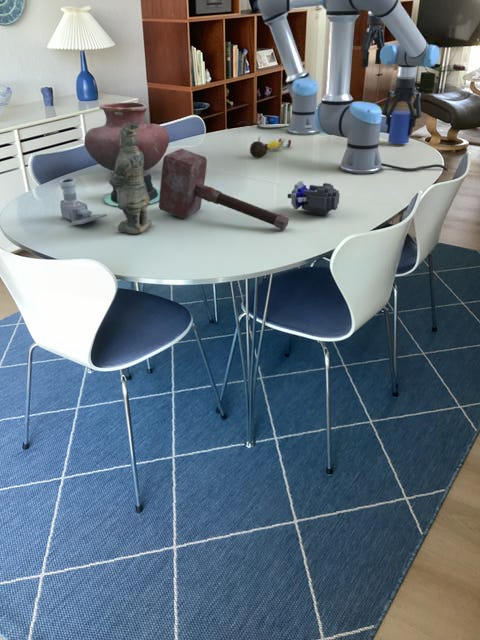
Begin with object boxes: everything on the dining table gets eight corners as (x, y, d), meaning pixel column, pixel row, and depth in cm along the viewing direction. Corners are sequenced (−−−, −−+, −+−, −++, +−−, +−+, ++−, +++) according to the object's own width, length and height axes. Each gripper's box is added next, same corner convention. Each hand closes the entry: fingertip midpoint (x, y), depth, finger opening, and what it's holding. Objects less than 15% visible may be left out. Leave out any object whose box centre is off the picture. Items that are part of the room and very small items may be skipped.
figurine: (298, 136, 240) (268, 140, 221) (297, 154, 243) (267, 160, 224) (272, 133, 246) (241, 137, 227) (271, 151, 249) (240, 156, 230)
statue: (131, 220, 168) (117, 116, 152) (158, 224, 164) (147, 118, 149) (109, 233, 159) (93, 124, 144) (138, 237, 156) (124, 126, 140)
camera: (73, 174, 169) (102, 184, 161) (79, 211, 176) (108, 223, 167) (48, 181, 164) (77, 191, 155) (55, 219, 170) (83, 231, 161)
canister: (390, 138, 249) (393, 110, 243) (410, 140, 245) (414, 111, 239) (386, 142, 242) (389, 113, 236) (406, 144, 239) (410, 114, 233)
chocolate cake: (91, 202, 180) (113, 186, 197) (142, 231, 182) (160, 212, 199) (107, 162, 172) (129, 148, 190) (160, 192, 174) (177, 176, 192)
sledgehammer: (299, 190, 156) (179, 147, 167) (285, 200, 148) (161, 154, 160) (286, 244, 166) (174, 200, 177) (272, 256, 158) (156, 209, 170)
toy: (295, 178, 172) (342, 184, 166) (295, 205, 177) (340, 211, 171) (285, 186, 166) (333, 192, 160) (284, 213, 170) (331, 220, 164)
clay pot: (179, 163, 223) (174, 97, 211) (157, 185, 198) (150, 112, 185) (108, 161, 228) (99, 97, 216) (77, 183, 203) (65, 111, 190)
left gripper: (371, 16, 246) (366, 68, 257) (395, 14, 263) (389, 63, 274) (356, 16, 250) (352, 67, 261) (380, 14, 267) (376, 62, 278)
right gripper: (434, 77, 228) (426, 134, 240) (384, 75, 238) (378, 129, 250) (429, 80, 223) (421, 137, 234) (378, 77, 233) (372, 132, 244)
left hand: (371, 65), depth 268 cm, fingers open, 13 cm apart
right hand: (399, 133), depth 242 cm, fingers closed on canister, 9 cm apart
